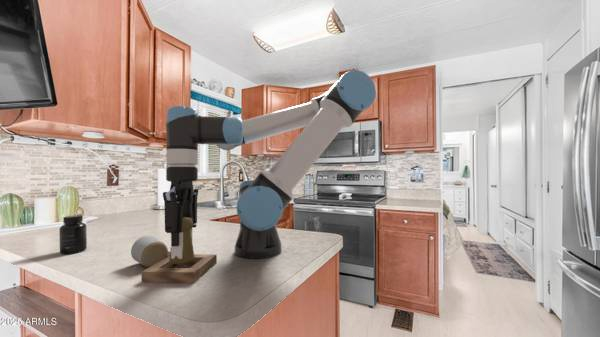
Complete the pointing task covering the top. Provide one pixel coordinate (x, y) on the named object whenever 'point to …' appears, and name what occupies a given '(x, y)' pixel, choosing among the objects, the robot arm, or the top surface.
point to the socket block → (179, 270)
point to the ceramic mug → (149, 251)
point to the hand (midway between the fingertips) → (182, 255)
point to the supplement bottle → (73, 235)
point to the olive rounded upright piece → (185, 243)
